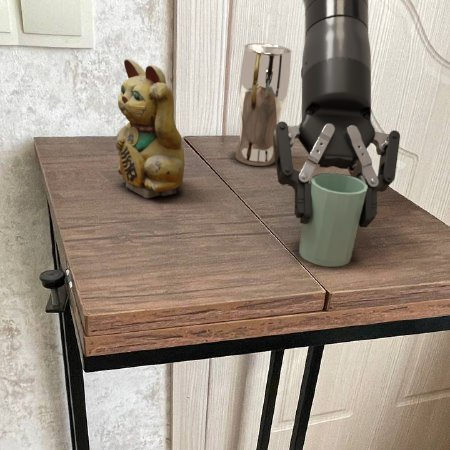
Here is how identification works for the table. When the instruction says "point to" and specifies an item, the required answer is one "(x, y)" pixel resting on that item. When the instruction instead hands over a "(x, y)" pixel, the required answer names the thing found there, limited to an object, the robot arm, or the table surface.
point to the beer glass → (261, 100)
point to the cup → (332, 219)
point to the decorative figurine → (149, 134)
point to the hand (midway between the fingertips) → (335, 222)
